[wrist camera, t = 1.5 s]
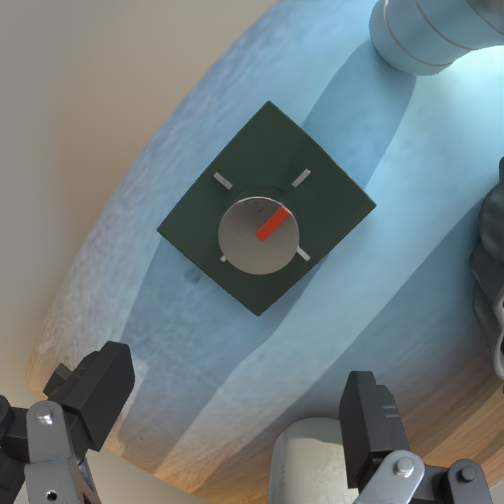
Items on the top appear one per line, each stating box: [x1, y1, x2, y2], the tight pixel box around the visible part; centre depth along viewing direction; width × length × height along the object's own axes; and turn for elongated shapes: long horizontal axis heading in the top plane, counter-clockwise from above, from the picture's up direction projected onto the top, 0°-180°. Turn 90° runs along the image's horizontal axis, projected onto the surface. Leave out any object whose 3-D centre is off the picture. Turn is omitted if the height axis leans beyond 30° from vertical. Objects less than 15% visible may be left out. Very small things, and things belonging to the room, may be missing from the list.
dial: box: [218, 185, 299, 275], centre depth 19 cm, size 4×4×5 cm
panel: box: [157, 101, 376, 317], centre depth 23 cm, size 12×10×3 cm
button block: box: [43, 363, 72, 401], centre depth 33 cm, size 9×7×4 cm
